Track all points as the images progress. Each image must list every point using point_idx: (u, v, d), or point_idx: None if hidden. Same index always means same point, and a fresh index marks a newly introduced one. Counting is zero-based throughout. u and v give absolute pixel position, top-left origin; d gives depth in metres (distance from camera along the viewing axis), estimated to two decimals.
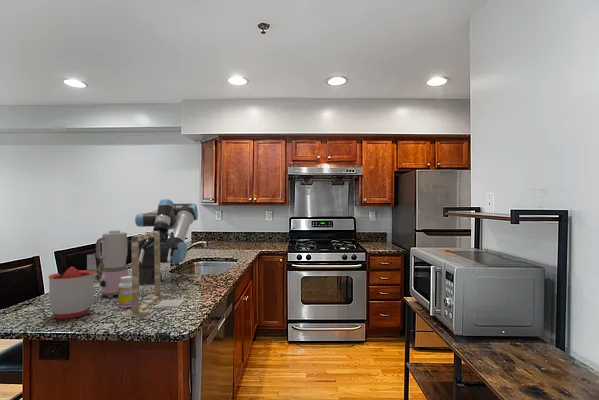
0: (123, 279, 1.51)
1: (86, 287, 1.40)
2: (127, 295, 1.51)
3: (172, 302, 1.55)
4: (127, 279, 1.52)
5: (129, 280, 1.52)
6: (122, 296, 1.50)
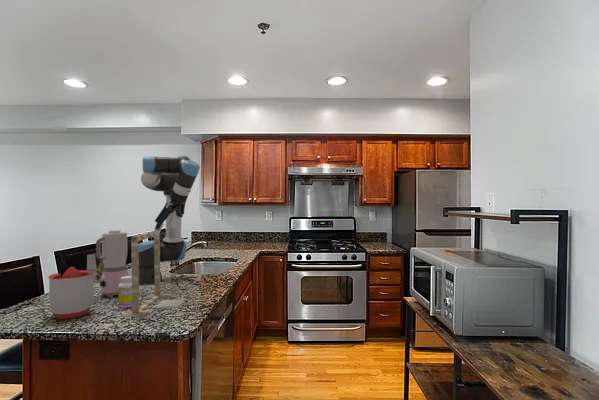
0: (123, 279, 1.51)
1: (86, 287, 1.40)
2: (127, 295, 1.51)
3: (172, 302, 1.55)
4: (127, 279, 1.52)
5: (129, 280, 1.52)
6: (122, 296, 1.50)
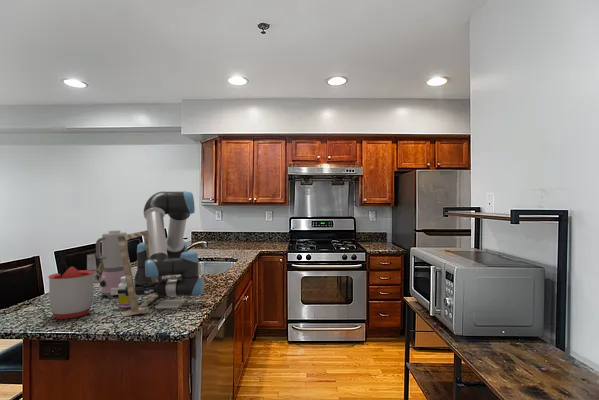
0: (123, 279, 1.51)
1: (86, 287, 1.40)
2: None
3: (172, 302, 1.55)
4: None
5: None
6: (122, 296, 1.50)
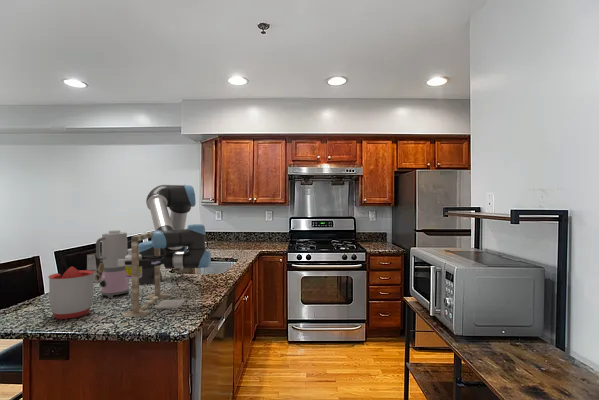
0: (130, 250, 1.51)
1: (86, 287, 1.40)
2: None
3: (172, 302, 1.55)
4: None
5: None
6: (129, 267, 1.50)
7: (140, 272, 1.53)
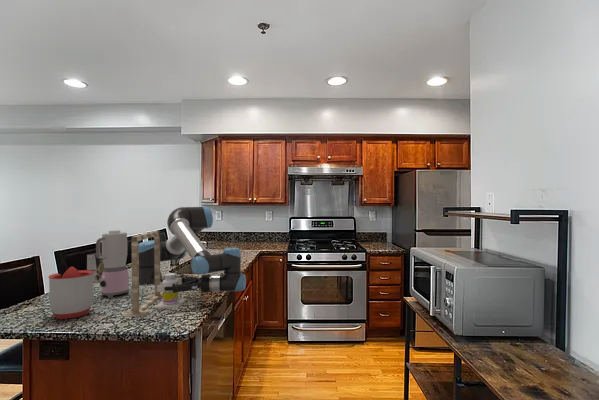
0: (167, 276, 1.52)
1: (86, 287, 1.40)
2: (172, 292, 1.52)
3: None
4: (171, 276, 1.53)
5: (173, 277, 1.54)
6: (166, 293, 1.51)
7: (177, 297, 1.54)
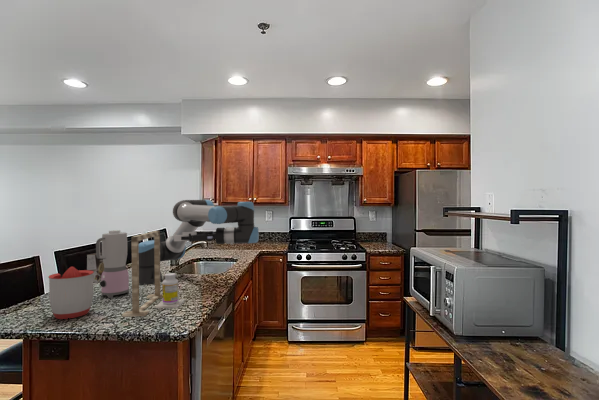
0: (167, 276, 1.52)
1: (86, 287, 1.40)
2: (172, 292, 1.52)
3: None
4: (171, 276, 1.53)
5: (173, 277, 1.54)
6: (166, 293, 1.51)
7: (177, 297, 1.54)
